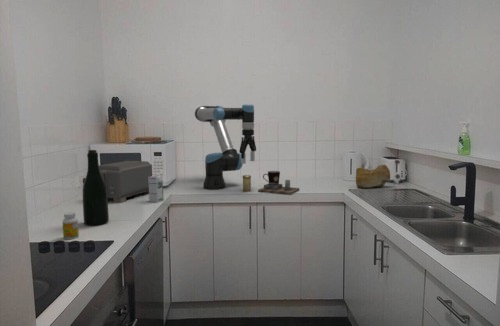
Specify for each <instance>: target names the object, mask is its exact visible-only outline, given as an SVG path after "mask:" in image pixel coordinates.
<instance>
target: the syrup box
mask: <svg viewBox="0 0 500 326" xmlns="http://www.w3.org/2000/svg"><path fill="white" fill-rule="evenodd" d="M148 181H149V194H148V195H149V198H148V199H149V202H151V203H159V202H162V201H164V199H165V198H164V184H163V183H164V182H163V181H164V180H163V176H162V175H159V174H158V175H152V176H151V177H148Z"/></svg>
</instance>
